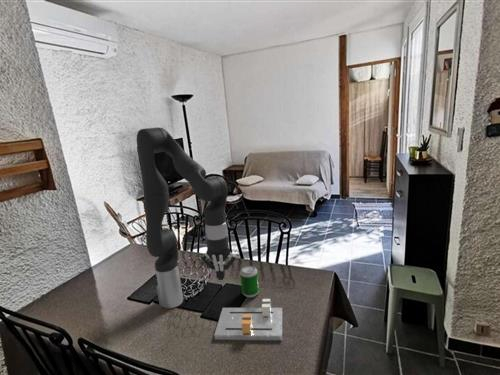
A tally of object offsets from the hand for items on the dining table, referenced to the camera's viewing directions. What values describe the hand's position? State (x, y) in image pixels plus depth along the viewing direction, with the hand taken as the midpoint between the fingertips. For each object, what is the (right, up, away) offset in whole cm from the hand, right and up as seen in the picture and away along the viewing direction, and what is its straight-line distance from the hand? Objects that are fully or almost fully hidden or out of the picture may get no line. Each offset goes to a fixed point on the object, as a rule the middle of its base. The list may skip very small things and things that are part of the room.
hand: (221, 278), depth 106 cm
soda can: (+11, -14, +25) cm, 30 cm away
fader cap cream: (+17, -16, +8) cm, 24 cm away
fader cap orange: (+10, -18, 0) cm, 21 cm away
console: (+11, -19, +5) cm, 22 cm away
